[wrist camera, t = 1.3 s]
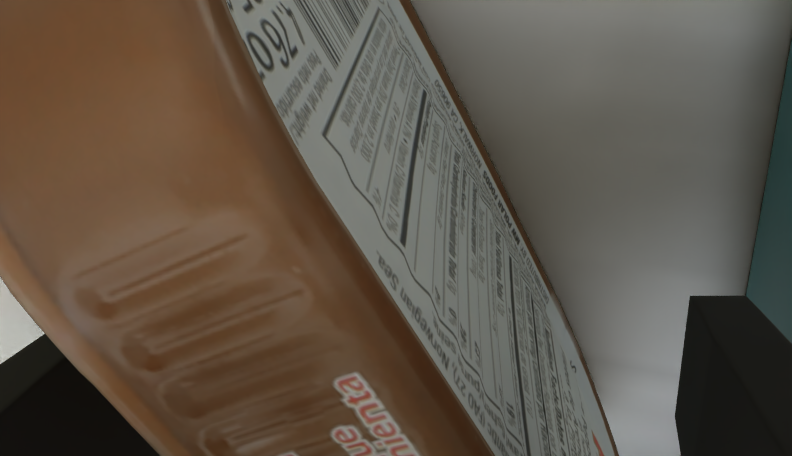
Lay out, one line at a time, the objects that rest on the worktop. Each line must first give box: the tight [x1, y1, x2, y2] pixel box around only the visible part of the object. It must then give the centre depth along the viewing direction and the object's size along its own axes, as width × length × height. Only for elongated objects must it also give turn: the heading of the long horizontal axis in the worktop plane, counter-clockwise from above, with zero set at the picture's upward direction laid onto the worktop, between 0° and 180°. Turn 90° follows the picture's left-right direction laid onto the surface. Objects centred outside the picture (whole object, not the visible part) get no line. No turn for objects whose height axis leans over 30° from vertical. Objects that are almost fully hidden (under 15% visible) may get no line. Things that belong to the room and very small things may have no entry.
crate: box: [746, 40, 792, 343], centre depth 12 cm, size 13×19×4 cm
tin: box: [0, 0, 619, 456], centre depth 10 cm, size 15×3×8 cm, turn 28°
